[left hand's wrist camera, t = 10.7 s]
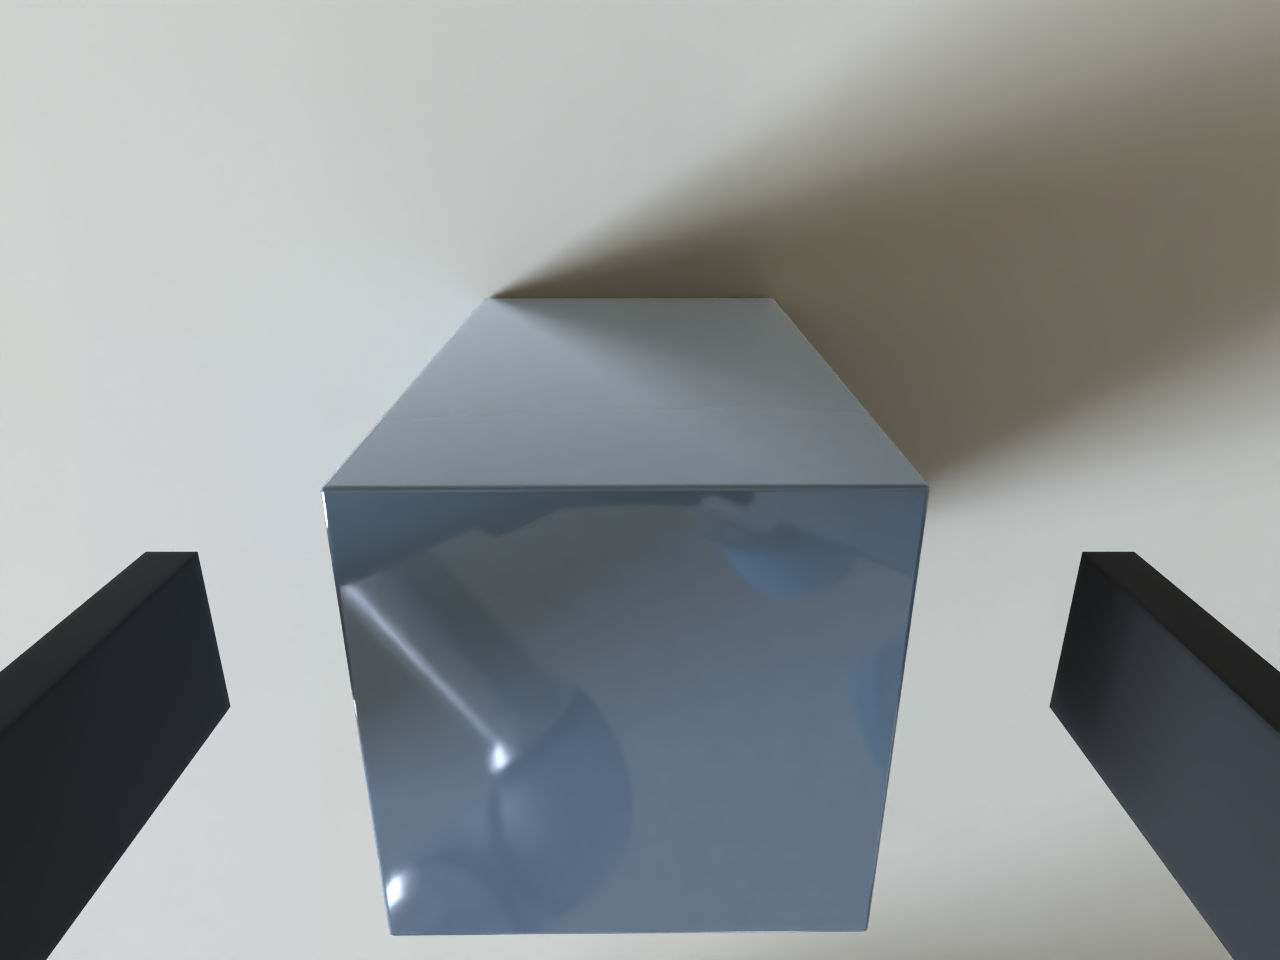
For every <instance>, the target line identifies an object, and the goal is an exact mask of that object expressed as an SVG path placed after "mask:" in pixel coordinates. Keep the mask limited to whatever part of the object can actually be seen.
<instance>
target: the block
mask: <svg viewBox="0 0 1280 960" xmlns="http://www.w3.org/2000/svg"><path fill="white" fill-rule="evenodd" d="M929 491H930V488H929V484H928V483H927V482H926V481H925V480H924V478H923V477H922V476H921V475H920V474H919V472H918V471H917V470H916V469H915V468H914V467H913V465H912V464H911V463H910V462H909V461H908V459H907V458H906V457H905V456H904V455H903V453H902V452H901V451H900V450H899V449H898V447H897V446H896V445H895V444H894V443H893V441H892V440H891V439H890V438H889V437H888V435H887V434H886V433H885V432H884V431H883V429H882V428H881V427H880V426H879V425H878V423H877V422H876V421H875V420H874V419H873V417H872V416H871V415H870V414H869V413H868V411H867V410H866V409H865V408H864V407H863V405H862V404H861V403H860V402H859V401H858V399H857V398H856V397H855V396H854V395H853V393H852V392H851V391H850V390H849V389H848V388H847V386H846V385H845V384H844V383H843V382H842V380H841V379H840V378H839V377H838V376H837V374H836V373H835V372H834V371H833V370H832V368H831V367H830V366H829V365H828V364H827V362H826V361H825V360H824V359H823V358H822V356H821V355H820V354H819V353H818V352H817V350H816V349H815V348H814V347H813V346H812V344H811V343H810V342H809V341H808V340H807V338H806V337H805V336H804V335H803V334H802V332H801V331H800V330H799V329H798V328H797V326H796V325H795V324H794V323H793V322H792V320H791V319H790V318H789V317H788V316H787V314H786V313H785V312H784V311H783V310H782V308H781V307H780V306H779V305H778V304H777V303H776V301H775V300H774V299H773V298H495V299H483V300H482V301H481V303H480V304H479V305H478V306H477V307H476V308H475V310H474V311H473V312H472V313H471V314H470V315H469V316H468V318H467V319H466V320H465V321H464V322H463V323H462V325H461V326H460V327H459V328H458V329H457V330H456V332H455V333H454V334H453V335H452V336H451V337H450V339H449V340H448V341H447V342H446V343H445V344H444V346H443V347H442V348H441V349H440V350H439V351H438V353H437V354H436V355H435V356H434V357H433V358H432V360H431V361H430V362H429V363H428V364H427V365H426V366H425V368H424V369H423V370H422V371H421V372H420V373H419V375H418V376H417V377H416V378H415V379H414V380H413V382H412V383H411V384H410V385H409V386H408V387H407V389H406V390H405V391H404V392H403V393H402V394H401V396H400V397H399V398H398V399H397V400H396V401H395V403H394V404H393V405H392V406H391V407H390V408H389V410H388V411H387V412H386V413H385V414H384V415H383V416H382V418H381V419H380V420H379V421H378V422H377V423H376V425H375V426H374V427H373V428H372V429H371V430H370V432H369V433H368V434H367V435H366V436H365V437H364V439H363V440H362V441H361V442H360V443H359V444H358V446H357V447H356V448H355V449H354V450H353V451H352V453H351V454H350V455H349V456H348V457H347V458H346V460H345V461H344V462H343V463H342V464H341V465H340V466H339V468H338V469H337V470H336V471H335V472H334V473H333V475H332V476H331V477H330V478H329V479H328V480H327V482H326V483H325V484H324V485H323V486H322V489H321V496H322V502H323V509H324V515H325V522H326V528H327V534H328V541H329V547H330V554H331V560H332V567H333V573H334V579H335V586H336V592H337V599H338V605H339V611H340V618H341V624H342V631H343V637H344V644H345V650H346V656H347V663H348V669H349V676H350V682H351V688H352V695H353V701H354V708H355V714H356V721H357V727H358V733H359V740H360V746H361V753H362V759H363V765H364V772H365V778H366V785H367V791H368V798H369V804H370V810H371V817H372V823H373V830H374V836H375V842H376V849H377V855H378V862H379V868H380V875H381V881H382V887H383V894H384V900H385V907H386V913H387V919H388V926H389V932H390V934H391V935H394V936H400V935H514V934H627V933H740V932H853V931H866V930H867V929H868V922H869V915H870V908H871V901H872V894H873V887H874V880H875V873H876V866H877V859H878V852H879V844H880V837H881V830H882V823H883V816H884V809H885V802H886V795H887V788H888V781H889V774H890V767H891V760H892V753H893V745H894V738H895V731H896V724H897V717H898V710H899V703H900V696H901V689H902V682H903V675H904V668H905V661H906V653H907V646H908V639H909V632H910V625H911V618H912V611H913V604H914V597H915V590H916V583H917V576H918V569H919V561H920V554H921V547H922V540H923V533H924V526H925V519H926V512H927V505H928V498H929Z"/></svg>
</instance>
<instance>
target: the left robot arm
mask: <svg viewBox="0 0 1280 960" xmlns="http://www.w3.org/2000/svg"><path fill="white" fill-rule="evenodd" d="M229 708H230V703H229V698H228V693H227V689H226V684H225V679H224V674H223V670H222V665H221V660H220V656H219V651H218V646H217V641H216V637H215V632H214V627H213V623H212V618H211V613H210V608H209V604H208V599H207V594H206V590H205V585H204V580H203V575H202V571H201V566H200V561H199V557H198V552H145V553H144V554H143V555H141V556H140V557H139V558H138V559H137V560H135V561H134V562H133V563H132V564H131V565H129V566H128V567H127V568H126V569H124V570H123V571H122V572H121V573H120V574H118V575H117V576H116V577H115V578H114V579H112V580H111V581H110V582H109V583H108V584H106V585H105V586H104V587H103V588H101V589H100V590H99V591H98V592H97V593H95V594H94V595H93V596H92V597H91V598H89V599H88V600H87V601H86V602H85V603H83V604H82V605H81V606H80V607H78V608H77V609H76V610H75V611H74V612H72V613H71V614H70V615H69V616H68V617H66V618H65V619H64V620H63V621H62V622H60V623H59V624H58V625H57V626H55V627H54V628H53V629H52V630H51V631H49V632H48V633H47V634H46V635H45V636H43V637H42V638H41V639H40V640H38V641H37V642H36V643H35V644H34V645H32V646H31V647H30V648H29V649H28V650H26V651H25V652H24V653H23V654H22V655H20V656H19V657H18V658H17V659H15V660H14V661H13V662H12V663H11V664H9V665H8V666H7V667H6V668H5V669H3V670H2V671H1V672H0V960H46V959H47V958H48V956H49V955H50V954H51V952H52V951H53V950H54V948H55V947H56V945H57V944H58V943H59V941H60V940H61V939H62V937H63V936H64V934H65V933H66V932H67V930H68V929H69V928H70V926H71V925H72V923H73V922H74V921H75V919H76V918H77V917H78V915H79V914H80V912H81V911H82V910H83V908H84V907H85V906H86V904H87V903H88V902H89V900H90V899H91V897H92V896H93V895H94V893H95V892H96V891H97V889H98V888H99V886H100V885H101V884H102V882H103V881H104V880H105V878H106V877H107V875H108V874H109V873H110V871H111V870H112V869H113V867H114V866H115V864H116V863H117V862H118V860H119V859H120V858H121V856H122V855H123V853H124V852H125V851H126V849H127V848H128V847H129V845H130V844H131V842H132V841H133V840H134V838H135V837H136V836H137V834H138V833H139V831H140V830H141V829H142V827H143V826H144V825H145V823H146V822H147V820H148V819H149V818H150V816H151V815H152V814H153V812H154V811H155V809H156V808H157V807H158V805H159V804H160V803H161V801H162V800H163V798H164V797H165V796H166V794H167V793H168V792H169V790H170V789H171V787H172V786H173V785H174V783H175V782H176V781H177V779H178V778H179V777H180V775H181V774H182V772H183V771H184V770H185V768H186V767H187V766H188V764H189V763H190V761H191V760H192V759H193V757H194V756H195V755H196V753H197V752H198V750H199V749H200V748H201V746H202V745H203V744H204V742H205V741H206V739H207V738H208V737H209V735H210V734H211V733H212V731H213V730H214V728H215V727H216V726H217V724H218V723H219V722H220V720H221V719H222V717H223V716H224V715H225V713H226V712H227V711H228V709H229ZM1050 708H1051V709H1052V711H1053V712H1054V713H1055V715H1056V716H1057V717H1058V719H1059V720H1060V722H1061V723H1062V724H1063V726H1064V727H1065V728H1066V730H1067V731H1068V733H1069V734H1070V735H1071V737H1072V738H1073V739H1074V741H1075V742H1076V744H1077V745H1078V746H1079V748H1080V749H1081V750H1082V752H1083V753H1084V755H1085V756H1086V757H1087V759H1088V760H1089V761H1090V763H1091V764H1092V766H1093V767H1094V768H1095V770H1096V771H1097V772H1098V774H1099V775H1100V776H1101V778H1102V779H1103V781H1104V782H1105V783H1106V785H1107V786H1108V787H1109V789H1110V790H1111V792H1112V793H1113V794H1114V796H1115V797H1116V798H1117V800H1118V801H1119V803H1120V804H1121V805H1122V807H1123V808H1124V809H1125V811H1126V812H1127V814H1128V815H1129V816H1130V818H1131V819H1132V820H1133V822H1134V823H1135V825H1136V826H1137V827H1138V829H1139V830H1140V831H1141V833H1142V834H1143V836H1144V837H1145V838H1146V840H1147V841H1148V842H1149V844H1150V845H1151V847H1152V848H1153V849H1154V851H1155V852H1156V853H1157V855H1158V856H1159V858H1160V859H1161V860H1162V862H1163V863H1164V864H1165V866H1166V867H1167V869H1168V870H1169V871H1170V873H1171V874H1172V875H1173V877H1174V878H1175V880H1176V881H1177V882H1178V884H1179V885H1180V886H1181V888H1182V889H1183V891H1184V892H1185V893H1186V895H1187V896H1188V897H1189V899H1190V900H1191V902H1192V903H1193V904H1194V906H1195V907H1196V908H1197V910H1198V911H1199V912H1200V914H1201V915H1202V917H1203V918H1204V919H1205V921H1206V922H1207V923H1208V925H1209V926H1210V928H1211V929H1212V930H1213V932H1214V933H1215V934H1216V936H1217V937H1218V939H1219V940H1220V941H1221V943H1222V944H1223V945H1224V947H1225V948H1226V950H1227V951H1228V952H1229V954H1230V955H1231V956H1232V958H1233V959H1234V960H1280V672H1279V671H1278V670H1277V669H1275V668H1274V667H1273V666H1272V665H1271V664H1269V663H1268V662H1267V661H1266V660H1265V659H1263V658H1262V657H1261V656H1260V655H1258V654H1257V653H1256V652H1255V651H1254V650H1252V649H1251V648H1250V647H1249V646H1248V645H1246V644H1245V643H1244V642H1243V641H1242V640H1240V639H1239V638H1238V637H1237V636H1235V635H1234V634H1233V633H1232V632H1231V631H1229V630H1228V629H1227V628H1226V627H1225V626H1223V625H1222V624H1221V623H1220V622H1218V621H1217V620H1216V619H1215V618H1214V617H1212V616H1211V615H1210V614H1209V613H1208V612H1206V611H1205V610H1204V609H1203V608H1202V607H1200V606H1199V605H1198V604H1197V603H1195V602H1194V601H1193V600H1192V599H1191V598H1189V597H1188V596H1187V595H1186V594H1185V593H1183V592H1182V591H1181V590H1180V589H1179V588H1177V587H1176V586H1175V585H1174V584H1172V583H1171V582H1170V581H1169V580H1168V579H1166V578H1165V577H1164V576H1163V575H1162V574H1160V573H1159V572H1158V571H1157V570H1156V569H1154V568H1153V567H1152V566H1151V565H1149V564H1148V563H1147V562H1146V561H1145V560H1143V559H1142V558H1141V557H1140V556H1139V555H1137V554H1136V553H1135V552H1082V557H1081V561H1080V566H1079V571H1078V575H1077V580H1076V585H1075V590H1074V594H1073V599H1072V604H1071V608H1070V613H1069V618H1068V623H1067V627H1066V632H1065V637H1064V641H1063V646H1062V651H1061V656H1060V660H1059V665H1058V670H1057V674H1056V679H1055V684H1054V689H1053V693H1052V698H1051V703H1050Z"/></svg>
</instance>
